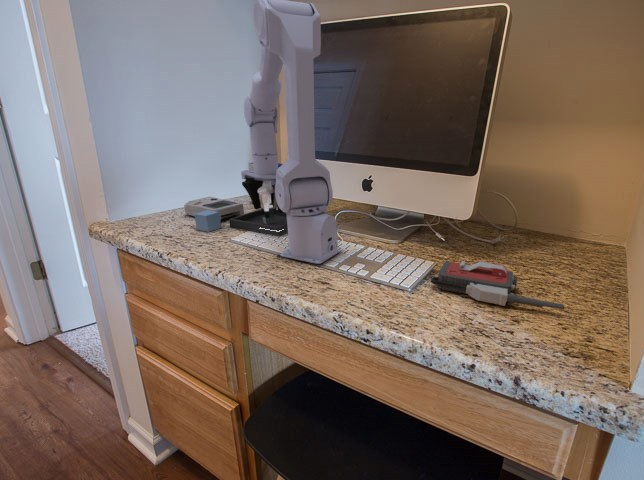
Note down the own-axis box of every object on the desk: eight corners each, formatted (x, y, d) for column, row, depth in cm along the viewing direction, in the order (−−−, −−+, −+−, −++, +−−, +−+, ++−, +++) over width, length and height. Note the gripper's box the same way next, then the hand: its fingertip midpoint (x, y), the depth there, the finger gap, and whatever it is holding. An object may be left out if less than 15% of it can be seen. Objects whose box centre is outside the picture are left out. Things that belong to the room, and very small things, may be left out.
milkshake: (279, 225, 93) (276, 184, 89) (258, 224, 93) (254, 184, 89) (284, 220, 97) (281, 181, 93) (264, 219, 97) (259, 180, 93)
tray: (311, 221, 97) (310, 214, 97) (278, 236, 87) (278, 227, 86) (265, 214, 104) (264, 207, 103) (229, 226, 93) (228, 219, 92)
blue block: (221, 227, 92) (219, 211, 90) (208, 232, 89) (205, 215, 87) (209, 225, 94) (207, 209, 92) (196, 229, 90) (193, 213, 89)
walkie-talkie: (426, 293, 60) (563, 319, 53) (428, 268, 59) (569, 292, 52) (438, 273, 68) (559, 293, 61) (440, 250, 66) (565, 269, 59)
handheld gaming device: (211, 208, 109) (209, 195, 107) (245, 216, 102) (243, 202, 100) (183, 215, 102) (180, 202, 101) (217, 224, 95) (214, 209, 93)
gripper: (300, 154, 89) (303, 210, 94) (252, 150, 94) (258, 203, 100) (281, 157, 83) (286, 216, 88) (232, 153, 89) (239, 209, 94)
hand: (270, 210), depth 94 cm, fingers open, 7 cm apart
